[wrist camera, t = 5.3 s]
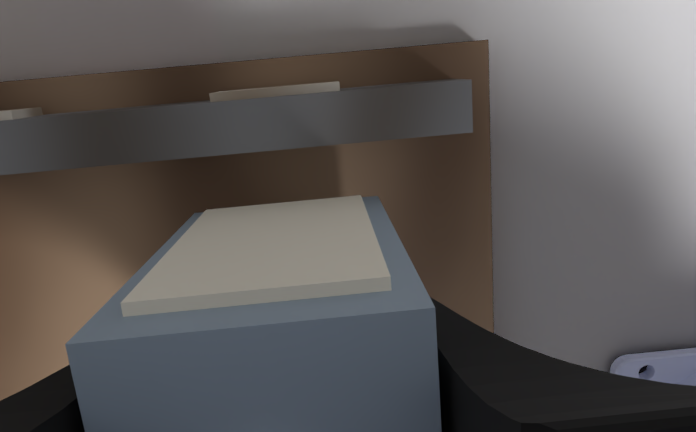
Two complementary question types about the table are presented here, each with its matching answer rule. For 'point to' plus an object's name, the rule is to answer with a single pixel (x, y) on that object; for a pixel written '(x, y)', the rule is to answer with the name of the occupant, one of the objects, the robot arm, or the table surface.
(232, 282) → the slate carton
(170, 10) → the table surface
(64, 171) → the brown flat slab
